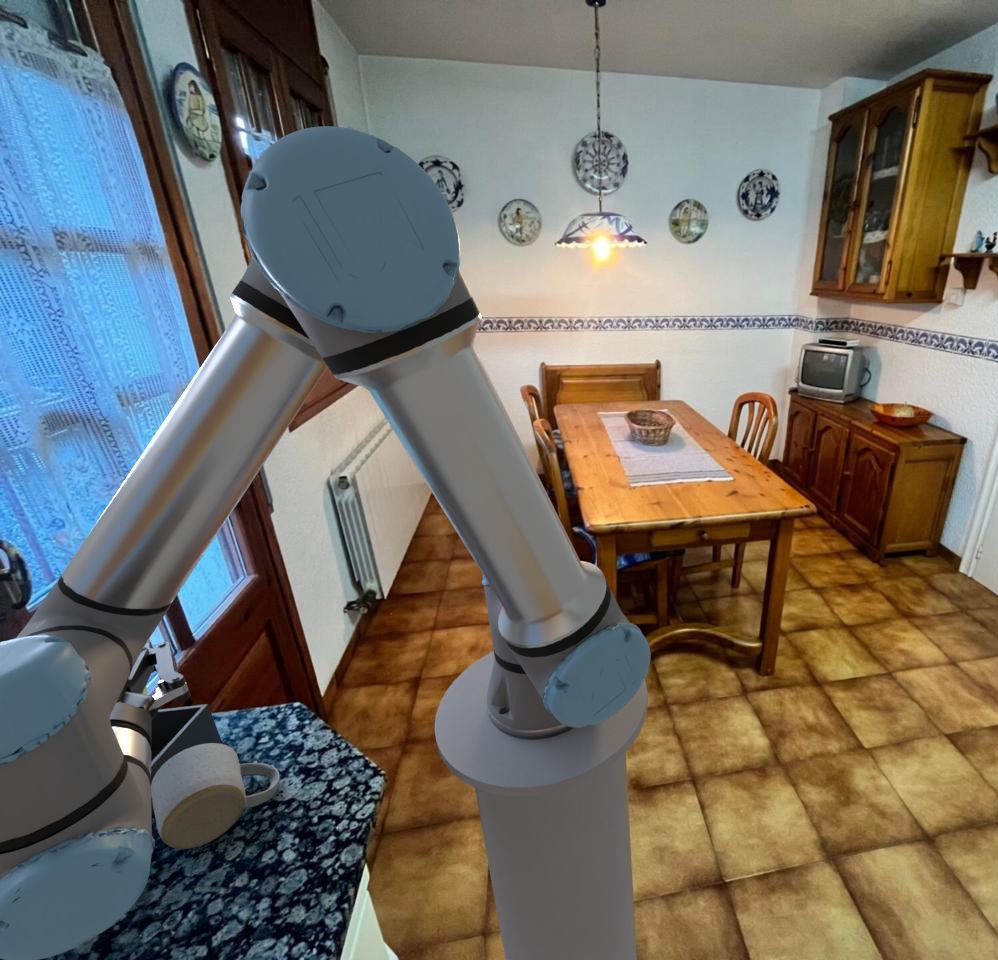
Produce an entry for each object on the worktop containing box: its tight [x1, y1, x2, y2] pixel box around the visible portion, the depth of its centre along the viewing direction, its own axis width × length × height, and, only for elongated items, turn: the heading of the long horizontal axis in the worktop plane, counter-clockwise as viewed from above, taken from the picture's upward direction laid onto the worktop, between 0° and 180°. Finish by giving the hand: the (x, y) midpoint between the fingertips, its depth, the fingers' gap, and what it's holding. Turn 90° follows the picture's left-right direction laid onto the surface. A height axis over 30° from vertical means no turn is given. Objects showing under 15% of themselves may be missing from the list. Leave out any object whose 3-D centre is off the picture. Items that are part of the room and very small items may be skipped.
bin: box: [151, 703, 223, 815], centre depth 62 cm, size 10×10×6 cm
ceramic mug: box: [151, 743, 281, 850], centre depth 58 cm, size 11×8×8 cm
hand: (107, 643), depth 60 cm, fingers closed on juice box, 4 cm apart
